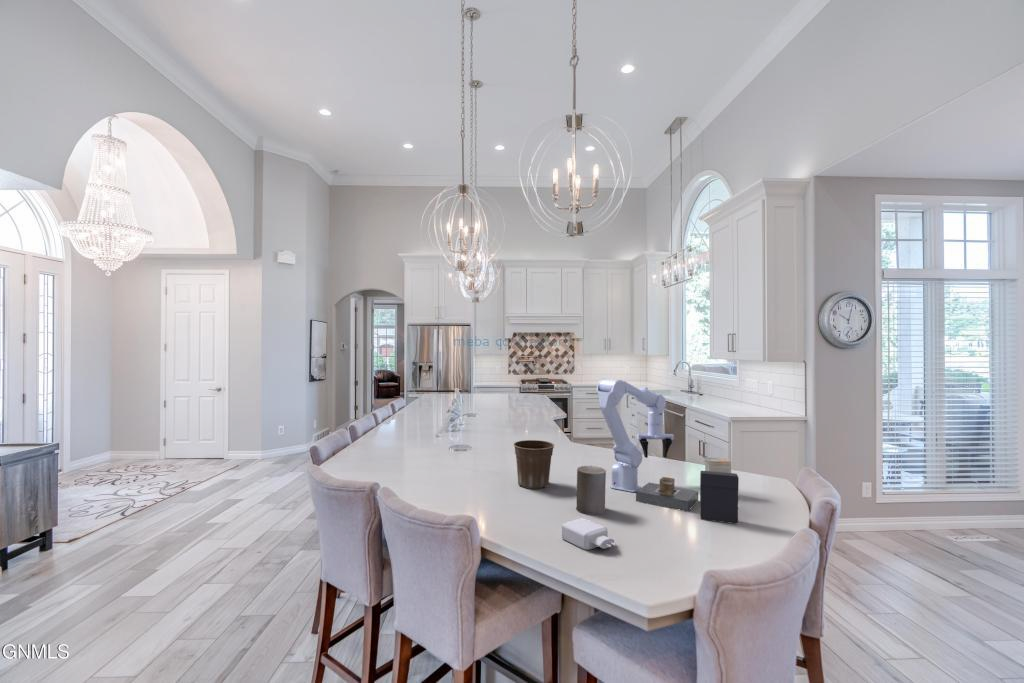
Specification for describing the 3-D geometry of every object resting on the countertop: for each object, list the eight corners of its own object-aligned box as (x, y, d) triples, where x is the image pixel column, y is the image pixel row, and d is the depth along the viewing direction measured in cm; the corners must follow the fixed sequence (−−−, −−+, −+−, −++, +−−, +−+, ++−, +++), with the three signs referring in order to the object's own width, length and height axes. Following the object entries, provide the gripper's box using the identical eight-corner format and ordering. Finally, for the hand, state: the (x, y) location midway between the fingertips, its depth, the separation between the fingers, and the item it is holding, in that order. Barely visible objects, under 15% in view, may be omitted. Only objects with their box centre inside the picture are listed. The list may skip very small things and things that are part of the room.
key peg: (659, 501, 170) (659, 479, 170) (662, 498, 173) (663, 476, 173) (670, 504, 167) (671, 481, 167) (674, 501, 171) (674, 478, 171)
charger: (601, 559, 123) (561, 540, 135) (624, 550, 129) (584, 533, 141) (601, 541, 123) (561, 523, 135) (624, 533, 129) (584, 517, 141)
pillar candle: (570, 509, 160) (571, 465, 160) (586, 502, 167) (587, 460, 167) (595, 517, 153) (595, 471, 153) (611, 510, 161) (611, 465, 160)
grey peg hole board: (635, 501, 170) (636, 491, 170) (648, 491, 181) (649, 482, 181) (687, 511, 160) (688, 500, 160) (698, 500, 171) (698, 490, 171)
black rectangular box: (736, 519, 152) (736, 472, 153) (738, 524, 148) (738, 476, 149) (699, 515, 156) (700, 469, 156) (700, 520, 152) (700, 472, 152)
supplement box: (727, 492, 181) (727, 458, 182) (731, 496, 177) (731, 461, 177) (704, 491, 182) (704, 457, 182) (708, 495, 178) (708, 460, 178)
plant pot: (555, 491, 180) (555, 448, 180) (512, 490, 180) (513, 448, 181) (552, 479, 197) (552, 440, 197) (513, 478, 197) (513, 439, 197)
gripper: (640, 425, 189) (640, 459, 189) (676, 425, 190) (676, 459, 190) (635, 422, 196) (635, 455, 196) (670, 422, 197) (670, 455, 197)
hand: (655, 457), depth 193 cm, fingers open, 7 cm apart
